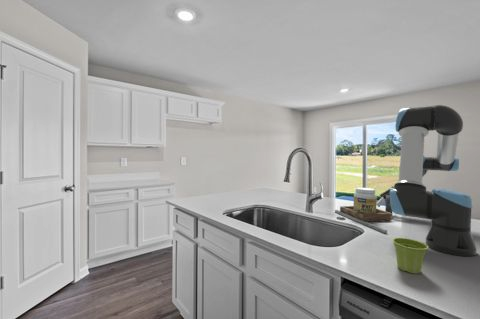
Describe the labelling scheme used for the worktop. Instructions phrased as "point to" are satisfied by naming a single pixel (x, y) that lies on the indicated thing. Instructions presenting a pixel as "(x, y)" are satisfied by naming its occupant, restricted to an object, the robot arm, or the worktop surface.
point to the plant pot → (409, 254)
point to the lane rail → (362, 222)
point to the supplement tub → (365, 200)
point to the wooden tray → (377, 216)
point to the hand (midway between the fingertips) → (385, 208)
